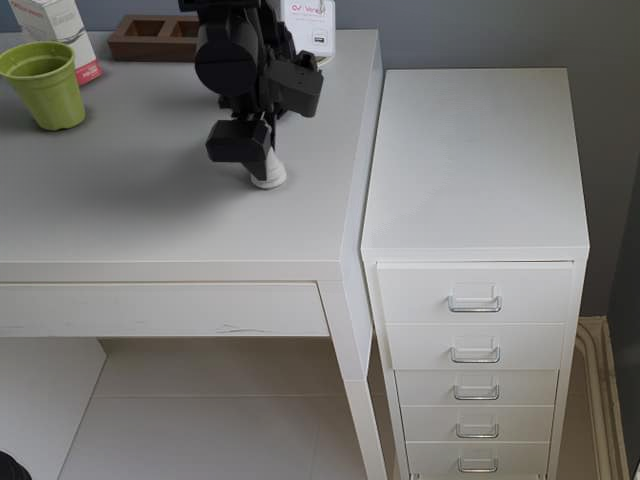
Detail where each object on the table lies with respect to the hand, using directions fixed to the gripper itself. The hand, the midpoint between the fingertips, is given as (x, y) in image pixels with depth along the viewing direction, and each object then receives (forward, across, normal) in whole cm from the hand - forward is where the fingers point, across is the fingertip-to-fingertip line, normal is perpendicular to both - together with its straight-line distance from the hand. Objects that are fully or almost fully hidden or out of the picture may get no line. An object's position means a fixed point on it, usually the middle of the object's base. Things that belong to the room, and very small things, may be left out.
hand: (266, 167), depth 91 cm
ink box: (+2, +24, +33) cm, 41 cm away
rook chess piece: (+2, 0, 0) cm, 2 cm away
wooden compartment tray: (+2, +32, +21) cm, 39 cm away
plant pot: (+2, +13, +30) cm, 33 cm away
